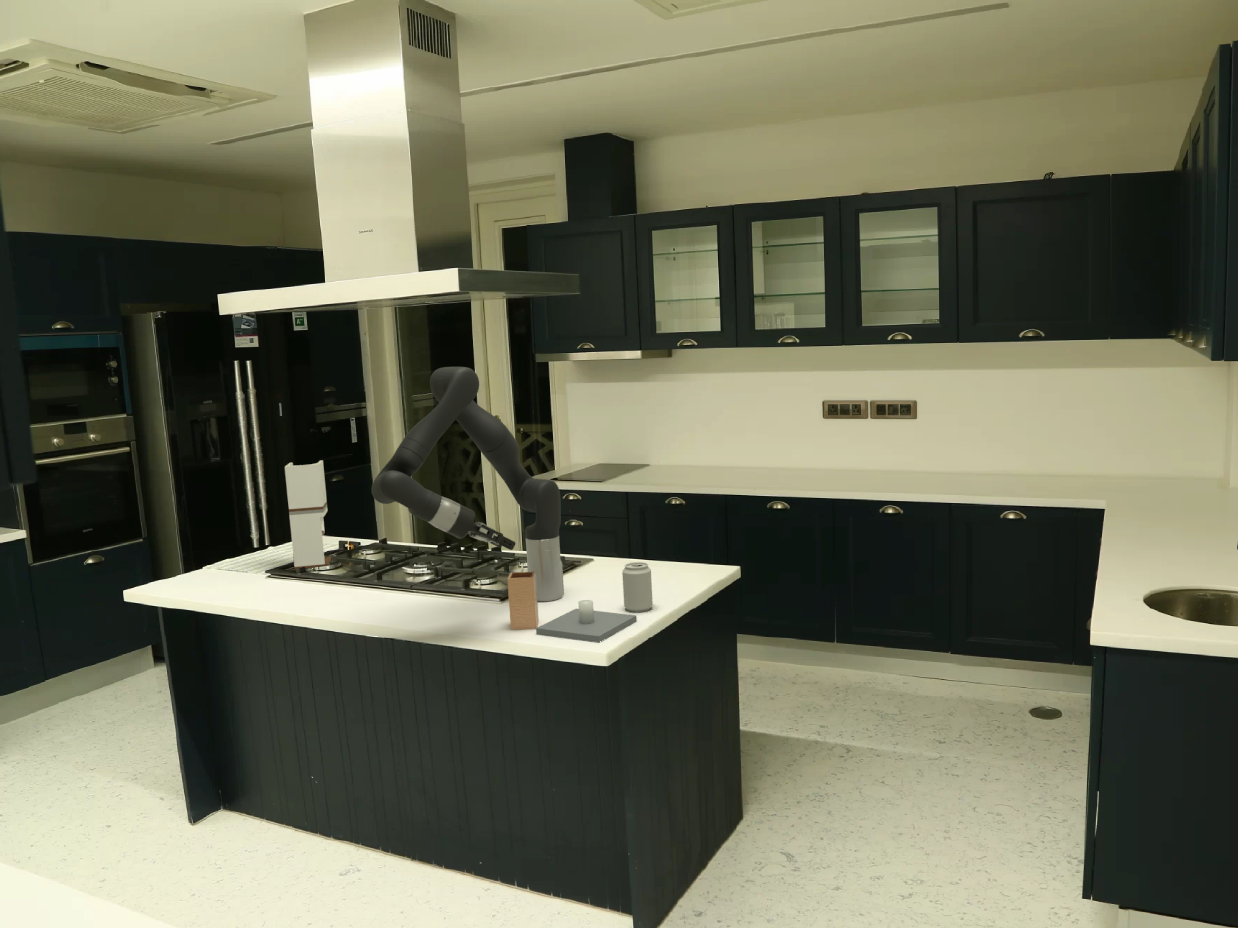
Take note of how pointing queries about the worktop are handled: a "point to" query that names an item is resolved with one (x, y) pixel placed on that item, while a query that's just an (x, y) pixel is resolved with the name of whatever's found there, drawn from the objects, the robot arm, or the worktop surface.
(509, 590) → the tan box
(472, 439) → the robot arm
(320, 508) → the brown-banded white column
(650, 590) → the can
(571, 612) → the duct base
